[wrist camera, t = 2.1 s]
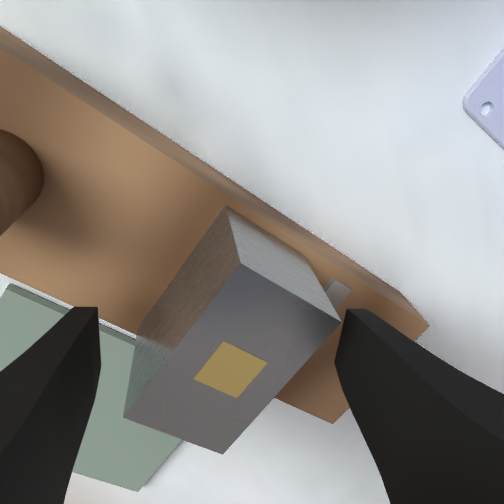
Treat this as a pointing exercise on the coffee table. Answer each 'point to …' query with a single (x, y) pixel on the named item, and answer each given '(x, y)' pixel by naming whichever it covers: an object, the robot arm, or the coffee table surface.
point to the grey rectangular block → (226, 335)
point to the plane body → (140, 215)
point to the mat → (107, 397)
